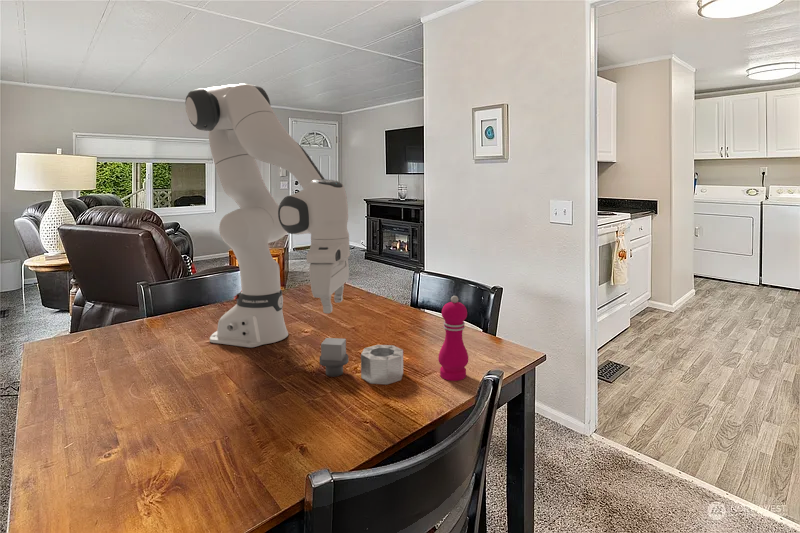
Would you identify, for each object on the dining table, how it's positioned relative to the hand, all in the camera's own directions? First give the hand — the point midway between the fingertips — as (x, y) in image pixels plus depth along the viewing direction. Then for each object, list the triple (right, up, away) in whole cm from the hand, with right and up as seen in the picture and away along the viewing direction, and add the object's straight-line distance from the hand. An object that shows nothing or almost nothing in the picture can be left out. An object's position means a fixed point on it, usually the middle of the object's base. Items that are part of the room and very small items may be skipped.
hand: (333, 307), depth 111 cm
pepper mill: (+29, -17, +2) cm, 33 cm away
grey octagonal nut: (+12, -17, +2) cm, 20 cm away
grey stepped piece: (0, -17, +3) cm, 17 cm away
